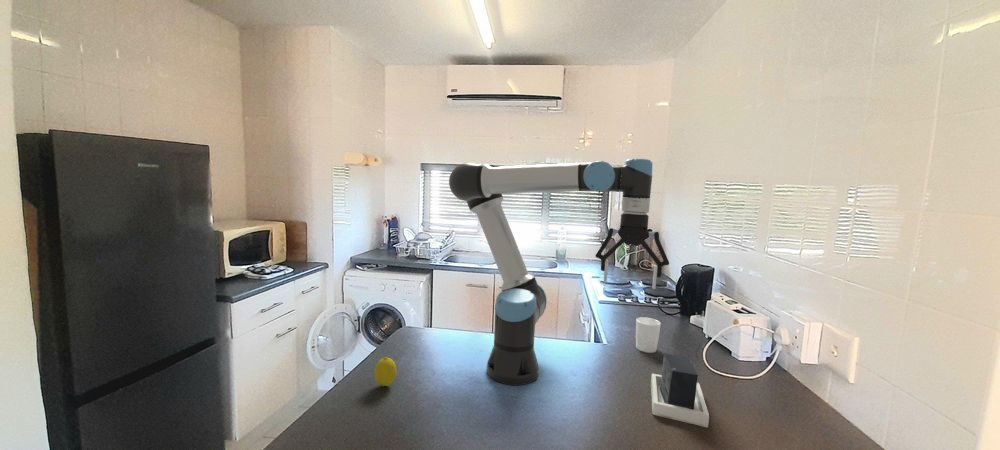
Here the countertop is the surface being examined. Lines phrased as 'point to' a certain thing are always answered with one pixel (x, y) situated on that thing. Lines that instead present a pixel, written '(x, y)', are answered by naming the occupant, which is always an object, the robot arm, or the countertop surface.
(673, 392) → the small box
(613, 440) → the countertop surface
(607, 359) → the countertop surface
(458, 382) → the countertop surface
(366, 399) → the countertop surface
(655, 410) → the parts tray
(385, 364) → the lemon
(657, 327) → the white cup
